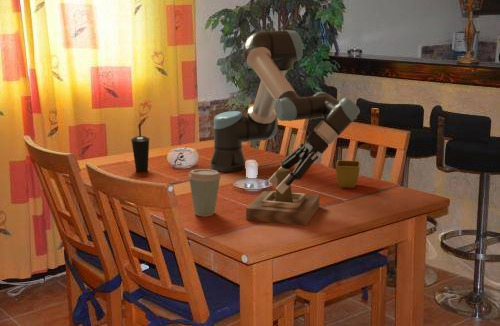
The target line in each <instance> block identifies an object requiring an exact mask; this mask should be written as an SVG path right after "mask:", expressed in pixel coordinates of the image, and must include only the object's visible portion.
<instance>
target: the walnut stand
mask: <svg viewBox="0 0 500 326" xmlns="http://www.w3.org/2000/svg"><path fill="white" fill-rule="evenodd" d="M275 196H276V190H271V191H267V190H264V191H262V192H261V193H260V194H259V195H258V196H257V197H256V198H254V200H253V201H252V202H251V203H250V204H249V205H248V206H247V207H246V208H245V210H246V211H245V217H246V218H245V220H247V221H255V222H257V221H258V222H265V223H266V222H267V223H275V224H276V223H277V224H279V223H280V224H286V225H296V226H297V225H298V226H307V225H308V223H310V221H311V220H312V218H313V217H314V215H315V214H316V212H317V211H318V209H319V208H320V201H321V200H320V198H321V197H320V195H316V194H306V193H301V192H292V199H293V202H292V203H289V202H278V201H275Z"/></svg>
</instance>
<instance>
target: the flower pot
mask: <svg viewBox="0 0 500 326" xmlns="http://www.w3.org/2000/svg"><path fill="white" fill-rule="evenodd" d="M360 167H361V161H360V160H342V159H341V160H338V159H337V161H336V164H335V173H336V180H337V183H338V185H339V187H340V188H348V189H351V188H352V189H353V188H355V187H356V185H357V182H358V181H359V174H360Z"/></svg>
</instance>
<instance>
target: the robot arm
mask: <svg viewBox="0 0 500 326" xmlns="http://www.w3.org/2000/svg"><path fill="white" fill-rule="evenodd" d="M303 48H304V47H303V41H302V39H301V36H300V34H299V33H298V32H297V31H295V30H288V29H285V30H261V31H256V32H254V33H252V34H251V35H250V36H248V37H247V39H246V41H245V42H244V44H243V49H242V56H243V59H244V62H245V64H246V65H247V66H248V67H249V69H251V70H254V72H255V73H256V75H257V77H259V79H260V82H259V85H258V86H259V87H258V89H257V93H256V96H255V100H254V103H253V105H251V106H250V107H249V108H248V111H247V113H246V114H244V113H243V114H242V112H241V111H238V110H232V111H231V110H230V111H225V112H221V113H218V114H217V115H215V117H214V118H213V143H214V144H213V146H214V149H213V153H212V157H211V161H210V170H215V171H217V172H219V173H220V172H224V173H230V172H231V173H233V172H235V173H236V172H241V171H244V170H245V169H246V168H245V162H246V163H247V160H246V158H245V154H244V151H243V143H248V142H257V141H259V142H260V141H266V140H272V139H273V138H274V137H275V136H276V135H277V131H278V129H279V126H278V125H279V121H281V122H283V121H284V122H287V121H288V122H292V121H300V120H310V119H311V120H312V119H322V120H320V122H319V123H318V124H317V125H316V126H315V127H314V128H313V129H314V130H312V131H311V132H309V134H308V135H307V136H305V141H306V142H307V143H306V144H303V143H300V144H299V146H297V148H296V149H294V150H293V151H292V152H291V153H290V154H288V156H287V157H285V158H284V159H283V160H281V165H280V167H279V168H278V169H277V170H279V169H289V170H290V168H292V167H293V166H295V167H294V169H293V170H292V171H291V172H290V173H289V175H288V176H287V177H286V178H285V179H284V180H283V181H282V182H281V183H280V184H279V185H278V186H277V180H278V179H277V178H276V172H277V170H276V171H275V172H274V173H273V174H272V175H271V177H269V179H268V180H267V181H268V182H269V183H270V184H272V185H273V186H276V187H275V189H277V190H278V191H279V192H280V193H281V194H283V193H284V192H285V191H286V189H287V188H288V187H289V186H290V185H291V186H292V184H293V183H294V182H296V181H297V180H299V181H300V180H301V179H302V178H303V177H304V175H305V174H306V173H307V171H308V170H309V169H310V168H311V167H312V165H313V164H314V162H315V161H317V159H319V156H318V155H317V153H319V154H323V153H324V152H325V151H326V150H328V148H329V145H331V144H332V143H333V142H334V141H337V140H338V138H339V136H340V135H341V134H342V133H344V131H345V130H346V129H347V128H348V127H350V125H351V124H352V123H353V122H354V121H355V119H356V118H357V117H358V116H359V115H360V113H361V111H360V108H359V106H358V105H356V103H355V102H354V101H352V100H351V99H350V98H348V97H343V98H342V99H340V100H338V99H337V98H335V97H334V96H333V95H331V94H329V93H327V92H325V91H317V92H316V93H314V94H313V95H312V96H299V95H298V94H297V93H296V91H295V90H294V88H293V86H292V85H291V83H290V82H289V81H288V80H287V78H286V74H287V71H289V70H291V69H292V67H293V65H294V62H298V61H300V60H302V57H303V53H304V52H303V51H304V49H303ZM291 175H292V176H291Z"/></svg>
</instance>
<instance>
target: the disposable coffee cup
mask: <svg viewBox="0 0 500 326" xmlns="http://www.w3.org/2000/svg"><path fill="white" fill-rule="evenodd" d="M220 179H221V174H220V172H219V171H215V170H212V169H211V168H199V169H197V168H196V169H192V170H189V173H188V180H189V186H190V191H191V197H192V204H193V211H194V213H195V215H197V216H199V217H210V216H213V215H214V214H215V211H216V206H217V198H218V193H219V188H220V187H219V185H220V181H221V180H220Z"/></svg>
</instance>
